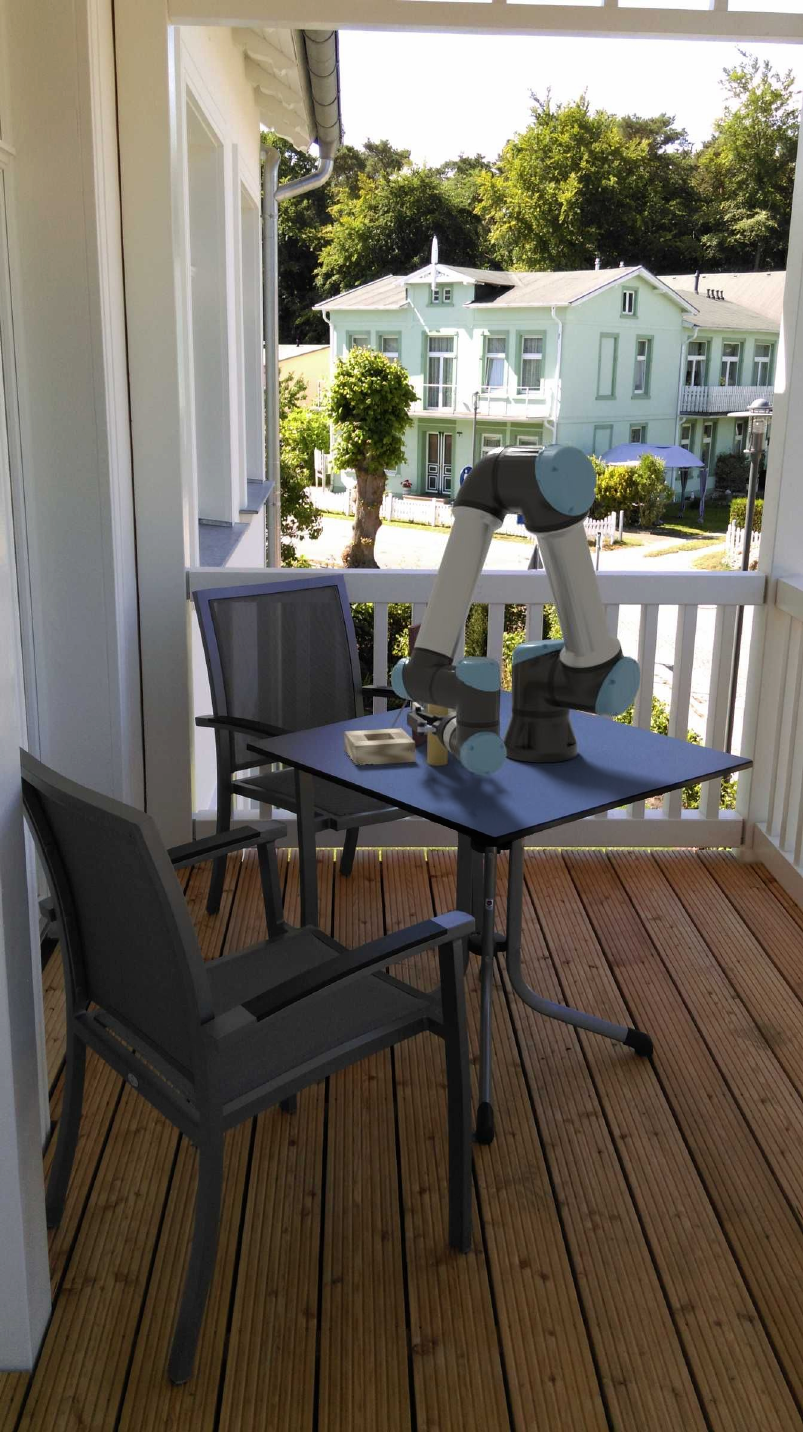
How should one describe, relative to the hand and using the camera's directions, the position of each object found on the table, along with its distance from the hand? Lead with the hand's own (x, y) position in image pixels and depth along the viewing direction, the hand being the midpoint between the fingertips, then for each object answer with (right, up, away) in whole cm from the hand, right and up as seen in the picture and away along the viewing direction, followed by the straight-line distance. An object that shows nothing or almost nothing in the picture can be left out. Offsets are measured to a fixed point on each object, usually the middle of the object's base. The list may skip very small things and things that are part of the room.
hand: (430, 708), depth 232 cm
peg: (+1, -11, -3) cm, 11 cm away
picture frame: (-4, -6, +19) cm, 21 cm away
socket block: (-10, -10, +3) cm, 14 cm away
